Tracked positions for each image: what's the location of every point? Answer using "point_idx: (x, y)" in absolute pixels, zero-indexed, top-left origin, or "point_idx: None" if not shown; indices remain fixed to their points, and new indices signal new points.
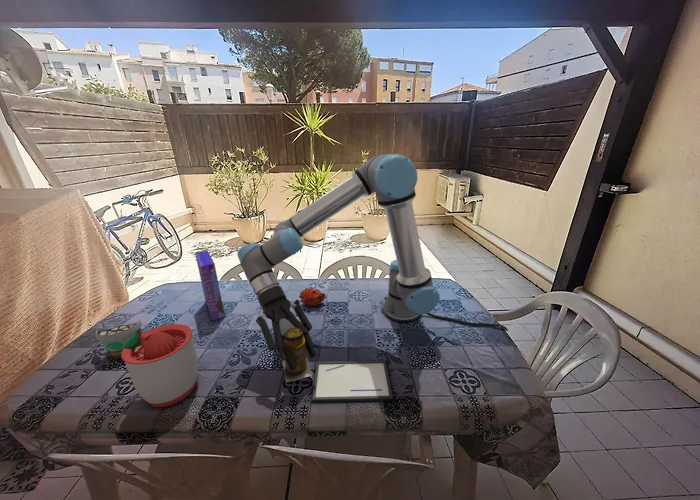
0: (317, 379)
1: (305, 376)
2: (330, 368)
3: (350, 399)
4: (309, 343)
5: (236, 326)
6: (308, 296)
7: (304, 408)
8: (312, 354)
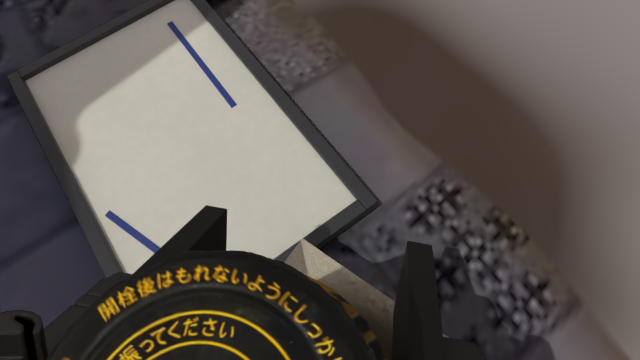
0: None
1: (331, 267)
2: None
3: (274, 81)
4: None
5: None
6: None
7: (423, 214)
8: (216, 238)
